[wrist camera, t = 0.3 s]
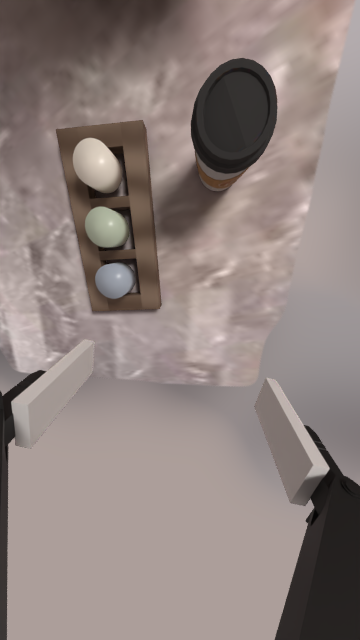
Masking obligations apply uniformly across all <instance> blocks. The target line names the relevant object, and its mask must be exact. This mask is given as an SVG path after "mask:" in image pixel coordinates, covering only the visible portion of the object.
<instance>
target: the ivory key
mask: <svg viewBox="0 0 360 640" xmlns="http://www.w3.org/2000/svg"><path fill="white" fill-rule="evenodd" d="M73 166H74V169H75V172H76V174H77V176H78V177H79V178H80V179H81V181H83V182H84V183H85V184H87V185H89V186H90V187H92V188H94V189H96V190H97V191H99V192H101V193H112V192H114V191H115V190H116V189H117V188H118V187H119V186H120V184H121V181H122V168H121V165H120V162H119V161H118V159H117V158H116V157H115V156H114V155H113V153H112V152H111V151H110V150H109V149H108V148H107V147H106V146H105V144H104V143H102V142H101V141H99V140H97V139H95V138H86V139H83V140H82V141H80V142H79V143H78V144H77V146H76V148H75V150H74V153H73Z"/></svg>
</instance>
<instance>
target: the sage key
mask: <svg viewBox="0 0 360 640" xmlns="http://www.w3.org/2000/svg"><path fill="white" fill-rule="evenodd" d="M85 229H86V233H87V235H88V237H89V238H90V240H91V241H92V242H93V243H94V244H96V245H98V246H100V247H119V246H122V245H123V244H124V243H125V242H126V241H127V239H128V237H129V231H130V230H129V225H128V222H127V220H126V219H125V217H124V216H123V215H121V214H120V213H118V212H116V211H113V210H111V209H109V208H106V207H96V208H94V209H92V210H91V211H90V212H89V213H88V215H87V217H86V220H85Z"/></svg>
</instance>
